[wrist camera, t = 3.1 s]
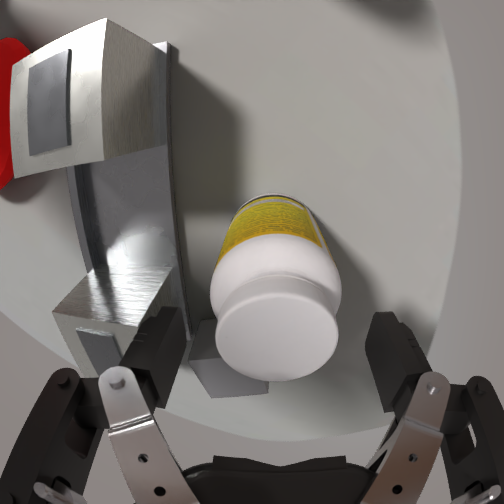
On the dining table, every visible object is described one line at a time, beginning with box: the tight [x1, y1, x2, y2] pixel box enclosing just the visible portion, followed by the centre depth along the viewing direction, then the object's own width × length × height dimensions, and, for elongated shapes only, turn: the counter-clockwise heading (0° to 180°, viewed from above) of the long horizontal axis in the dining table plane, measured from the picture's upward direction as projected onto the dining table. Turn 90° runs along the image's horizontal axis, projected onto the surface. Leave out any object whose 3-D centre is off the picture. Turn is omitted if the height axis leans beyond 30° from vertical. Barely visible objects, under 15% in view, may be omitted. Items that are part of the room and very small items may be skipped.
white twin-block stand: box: [10, 19, 193, 378], centre depth 16 cm, size 24×8×8 cm, turn 0°
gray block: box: [188, 318, 269, 398], centre depth 22 cm, size 5×5×5 cm
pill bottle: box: [210, 193, 342, 382], centre depth 15 cm, size 6×6×11 cm
